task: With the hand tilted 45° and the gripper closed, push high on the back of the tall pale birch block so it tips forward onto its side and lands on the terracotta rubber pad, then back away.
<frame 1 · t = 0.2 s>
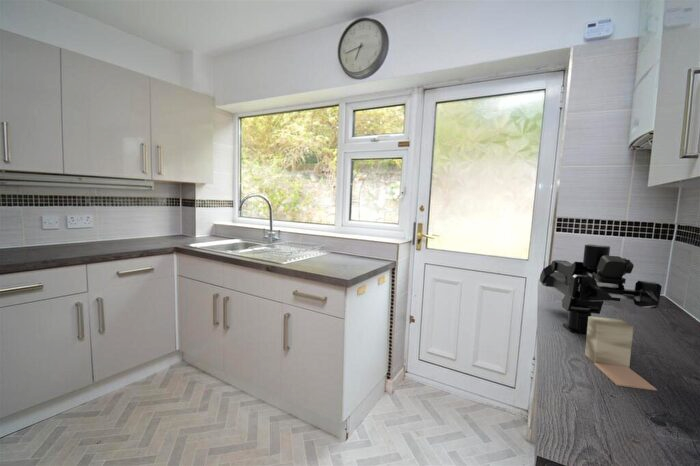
hand: (633, 300, 73), 16 cm above the counter, tool horizontal, fingers open, 9 cm apart
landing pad: (622, 376, 71), on the counter
birch block: (606, 360, 78), on the counter
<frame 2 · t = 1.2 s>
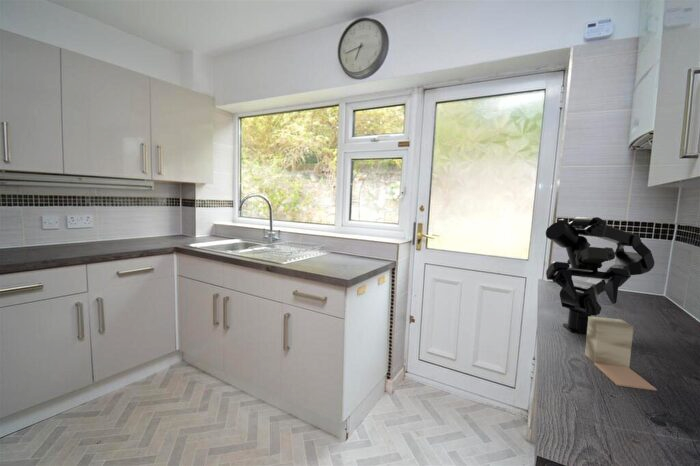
hand: (594, 300, 84), 13 cm above the counter, tool tilted 45°, fingers open, 9 cm apart
nothing on the counter moved.
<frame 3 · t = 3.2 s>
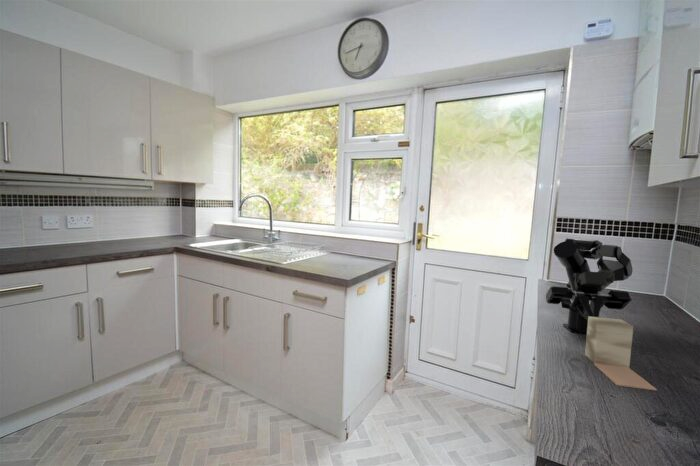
hand: (595, 326, 83), 7 cm above the counter, tool tilted 45°, fingers closed
nothing on the counter moved.
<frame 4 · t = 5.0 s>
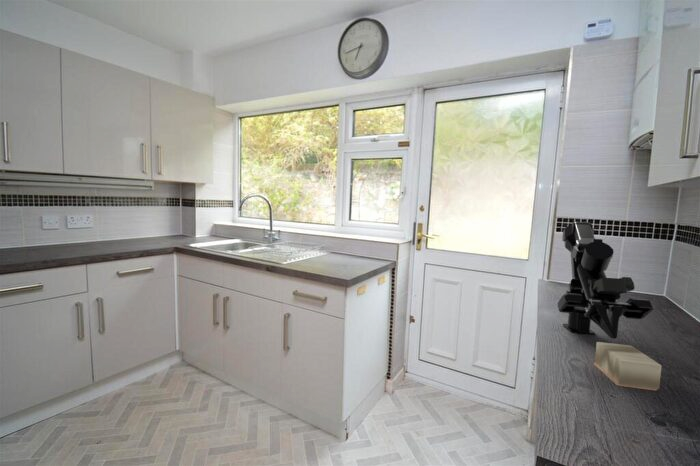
hand: (614, 338, 75), 7 cm above the counter, tool tilted 45°, fingers closed
birch block: (612, 353, 76), point 3 cm above the counter, tilted 90°, touching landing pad
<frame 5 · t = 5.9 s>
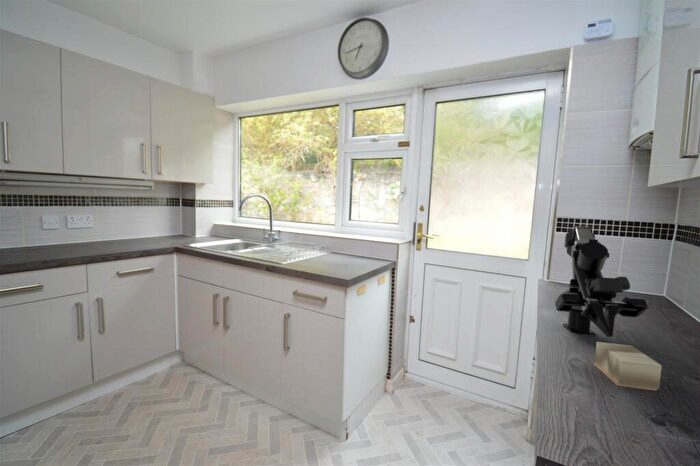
hand: (610, 336, 77), 6 cm above the counter, tool tilted 45°, fingers closed
nothing on the counter moved.
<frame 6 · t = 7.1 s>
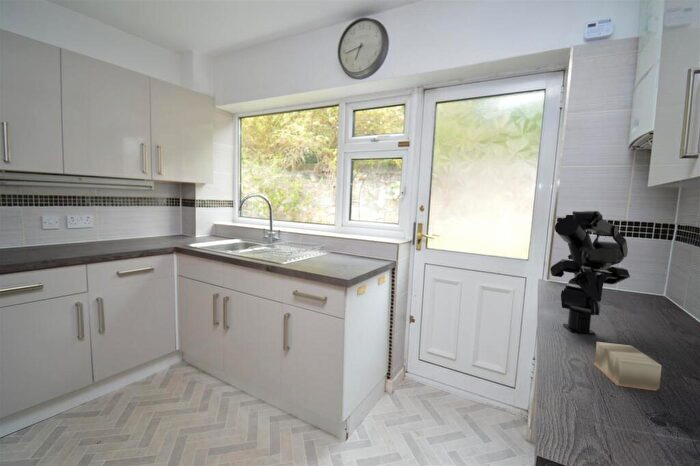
hand: (598, 301, 84), 13 cm above the counter, tool tilted 35°, fingers closed
nothing on the counter moved.
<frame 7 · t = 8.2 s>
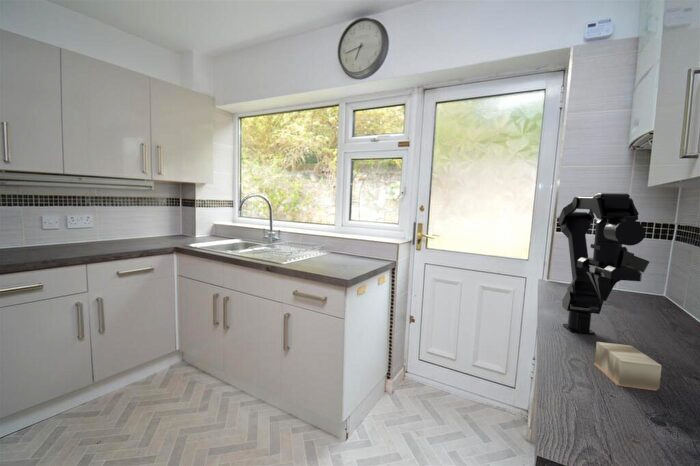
hand: (602, 300, 84), 13 cm above the counter, tool pointing down, fingers closed
nothing on the counter moved.
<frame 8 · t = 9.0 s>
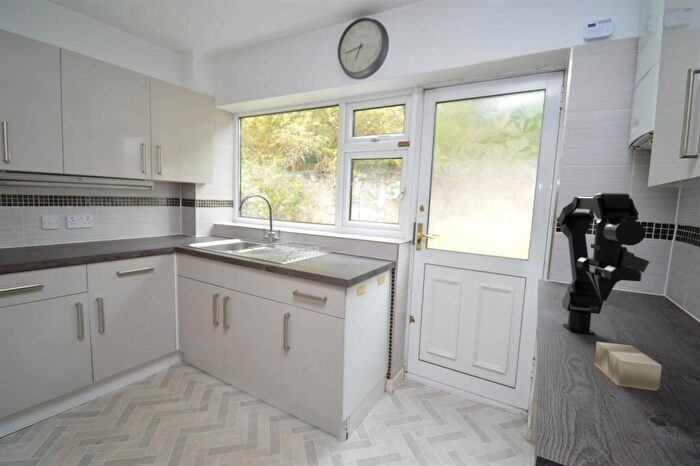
hand: (602, 300, 84), 13 cm above the counter, tool pointing down, fingers closed
nothing on the counter moved.
at the end: birch block tilted 90°; birch block inside the target area (1.7 cm from its centre), point 2.8 cm above the counter; birch block touching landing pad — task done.
